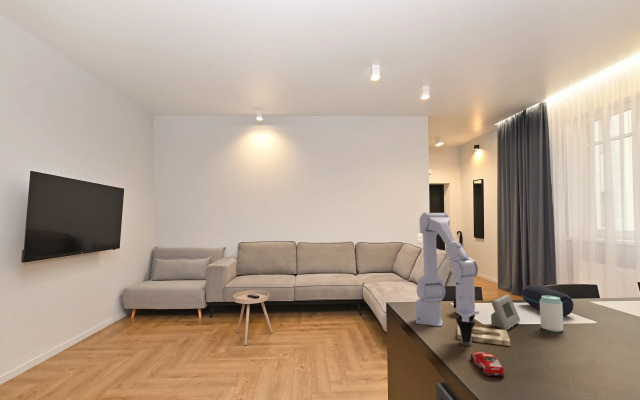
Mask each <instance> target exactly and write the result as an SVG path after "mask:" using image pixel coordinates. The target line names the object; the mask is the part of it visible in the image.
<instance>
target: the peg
mask: <svg viewBox="0 0 640 400" xmlns="http://www.w3.org/2000/svg"><path fill="white" fill-rule="evenodd" d="M472 334H473V333H471V340H470V342H463V340H462V336H461V340H460V342H461V345H462V346H465V347H472V346H473V341H472Z"/></svg>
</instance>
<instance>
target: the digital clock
mask: <svg viewBox="0 0 640 400" xmlns="http://www.w3.org/2000/svg"><path fill="white" fill-rule="evenodd" d="M491 306H492V308H493V310H494V312H492V313H491V315H490V321H491V323H490V324H491V326H492V327H495V326H497V327H496V328H500V327H501V328H500V329H501V330H507V331H508V330H510V328H511V327H512V328H513V327H515V326H516V325H517V324H518V323H520V321H521V319H520V316H519V314H518V311H517V309H516V306H515V304H514V301H513V299H512V297H511V295H509V294H505V295H501V296H500V297H497V298H495V299H494V300H492V302H491ZM515 324H516V325H515ZM514 325H515V326H514ZM512 328H511V329H512Z"/></svg>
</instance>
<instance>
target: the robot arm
mask: <svg viewBox="0 0 640 400" xmlns="http://www.w3.org/2000/svg"><path fill="white" fill-rule="evenodd" d="M450 224H451V219H450V216H449V215H448V214H447V212H422V214H421V216H420V217H419V233H421V234H422V244H423V245H422V248H423V249H422V250H423V273H424V274H423V275H422V276H421V277H420V278H418V279H417V285H416V294H417V297H418V298H417V299H416V300H415V323H416V324H417V325H426V326H433V327H434V326H435V327H442V325H443V319H442V309H441V302H443V299H444V298H445V296H446V288H445V286H444V285H445V283H444V280H443V279H442V278H441V277H440V276H439V275H438V256H437V235H439V237H441V240H442V241H443V243H444V244H445V249H444V250H445V253H446V255H447V257H448V258H449V260H450V262H451V264H452V265H451V273H452V275H453V282H455V298H456V308H455V312H457V314H456V316H457V317H455V318H456V319H455V321H456V323H457V326H458V325H459V328H460V331H461V336H462V340H463V342H470V340H471V333H472V329H473V327H475V324H476V320H474V319H475V317H476V315H479V314H480V310H478V309H476V297H475V294H476V293H475V292H476V291H475V278H476V277H477V275H478V274H479V268H478V264H477V262H476V260H475V259H473V258H471V257H469V256H468V255H467V253H466V251H465V249H464V247H463V245H462V244H461V242H458V241H456V238H455V236H454V234H453V232H452V230H451V227H450ZM472 334H473V333H472Z"/></svg>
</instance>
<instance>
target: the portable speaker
mask: <svg viewBox="0 0 640 400" xmlns="http://www.w3.org/2000/svg"><path fill="white" fill-rule="evenodd" d="M521 295H522V298H523V301H525V302H526V303H527V304H528V305H530V306H532V307H535V308H537V309H539V310H540V299H541V298H542V297H541V296H556V297H559V298H560V300H561V302H562V305H563V317H567V316H569V315H571V313H572V312H573V311H574V302H573V299H572V298H571V297H570V296H569V295H568V294H566V293H564V292H561V291H557V290H555V289H551V288H548V287H546V286H545V287H544V286H542V285H539V284H538V285H537V284H532V285H531V284H529V285H527V286H526V287H524V288H523V289H522V291H521Z"/></svg>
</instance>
